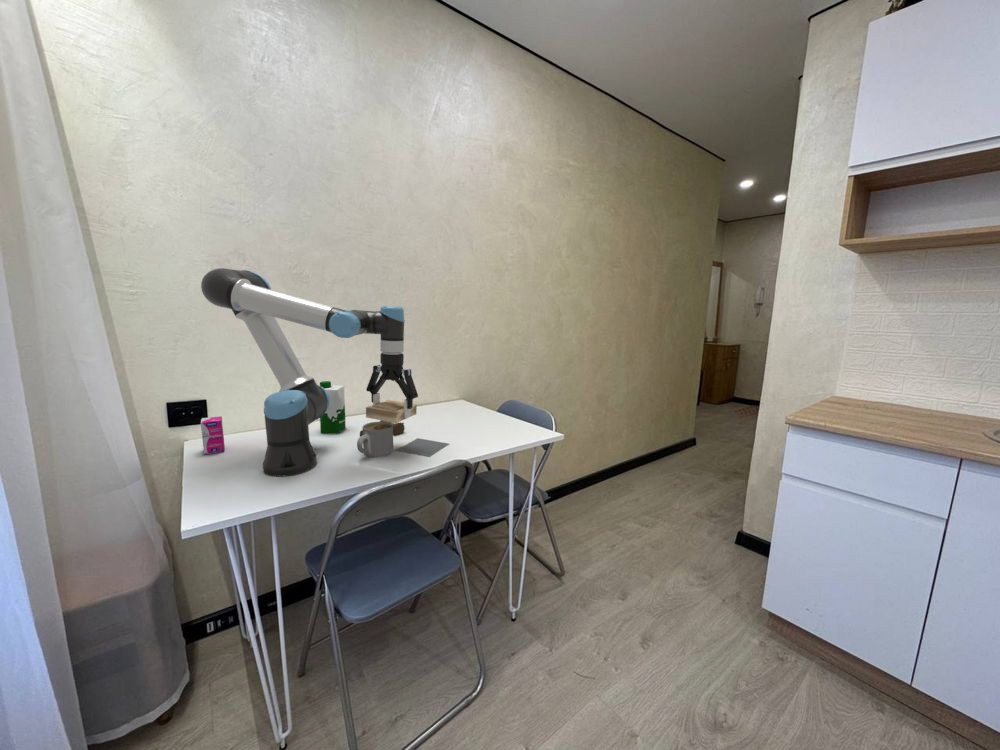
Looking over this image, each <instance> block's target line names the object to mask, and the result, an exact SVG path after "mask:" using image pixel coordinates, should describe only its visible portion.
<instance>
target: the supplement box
mask: <svg viewBox="0 0 1000 750" xmlns="http://www.w3.org/2000/svg"><path fill="white" fill-rule="evenodd" d="M223 427H224V426H223V418H222V416H219V415H218V416H213V417H211V416H210V417H202V418H201V419H200V431H201V438H202V440H201V441H202V447H203V448H202V449H203V455H204V456H205V455H212V454H217V453H218V454H219V453H224V452H225V450H226V449H225V447H226V445H225V437H224V436H225V435H224V428H223Z"/></svg>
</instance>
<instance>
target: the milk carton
mask: <svg viewBox="0 0 1000 750" xmlns="http://www.w3.org/2000/svg"><path fill="white" fill-rule="evenodd" d="M319 386H321V387H323V388H324V389H325V390H326V391H327V392H328V394H329V398H330V404H329V408H328V410H327V411H326V412H325V413H324V415H323V416H322V417H320V418H319V423H320V424H319V425H320V434H328V433H336V434H337V433H338V434H337V435H339V434H340V433H341V432H343V431H344V430H345V429H346V428H347V427H346V405H345V385H337V384H336V385H333V384H332V382H331V381H329V380H326V381H325V380H323V381H320V382H319ZM342 430H343V431H342Z"/></svg>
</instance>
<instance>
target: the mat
mask: <svg viewBox="0 0 1000 750" xmlns="http://www.w3.org/2000/svg"><path fill="white" fill-rule="evenodd" d="M449 445H450V443H447V442H442V441H436V440H430V439H424V438H421V437H420V438H419V437H418V438H416V439H414V440H412V441H410V442H408V443H406V444H404V445H403V446H400V447H399V448H397V449H395V451H396V452H399V453H400V452H401V453H407V454H412V455H416V456H422V457H426V458H427V457H428V458H431V457H432V456H434V455H435V454H436V453H438V452H440V451H441V450H443V449H445V448H446V447H447V446H449Z"/></svg>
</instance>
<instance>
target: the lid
mask: <svg viewBox="0 0 1000 750" xmlns="http://www.w3.org/2000/svg"><path fill="white" fill-rule="evenodd" d="M417 407H418V406H417V404H416V403H413V407H412V408H411V417H413V416H416V415H417ZM365 418H367V419H372V420H376V421H377V420H378V421H381V420H382V421H387V422H391V423H400V422H402V421H404V420H406V419H405V418H404V401H397V400H391V399H387V400H386V399H385V400H384V401H380V403H377V404H375V405H373V404H372V405H368V406H366V407H365Z"/></svg>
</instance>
